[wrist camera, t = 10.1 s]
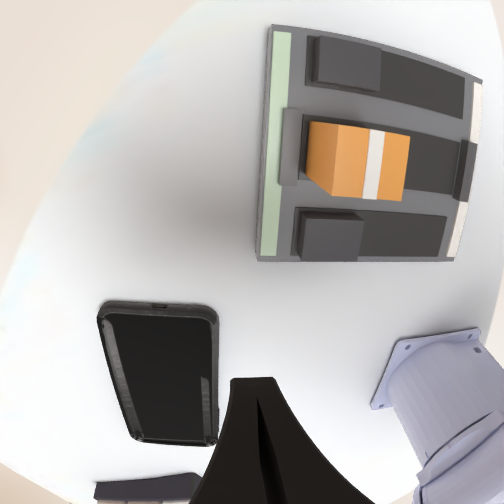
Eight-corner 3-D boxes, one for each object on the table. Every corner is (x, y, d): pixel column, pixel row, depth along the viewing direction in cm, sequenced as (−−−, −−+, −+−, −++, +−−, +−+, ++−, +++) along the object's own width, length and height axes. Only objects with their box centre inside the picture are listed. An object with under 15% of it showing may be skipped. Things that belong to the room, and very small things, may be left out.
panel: (470, 79, 15) (495, 80, 12) (443, 253, 19) (463, 269, 17) (268, 30, 13) (275, 17, 11) (255, 252, 18) (260, 272, 16)
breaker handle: (367, 128, 14) (411, 136, 11) (362, 179, 15) (402, 201, 12) (309, 121, 14) (339, 124, 10) (304, 174, 15) (332, 196, 11)
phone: (132, 441, 24) (93, 306, 18) (133, 431, 25) (98, 296, 19) (219, 447, 25) (221, 313, 19) (218, 437, 26) (221, 303, 20)
